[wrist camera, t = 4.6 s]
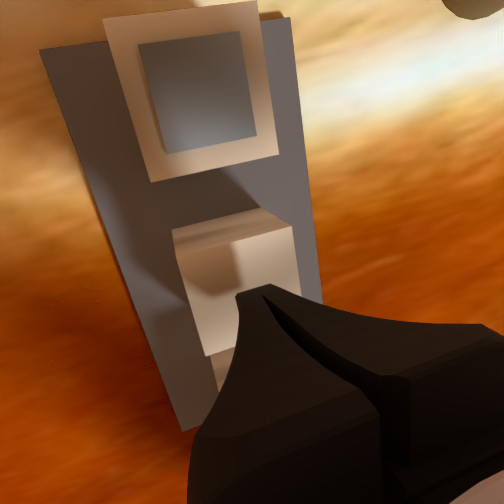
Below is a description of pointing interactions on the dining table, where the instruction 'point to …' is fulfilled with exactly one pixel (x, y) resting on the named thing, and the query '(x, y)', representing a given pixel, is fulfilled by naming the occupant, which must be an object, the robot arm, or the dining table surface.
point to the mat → (181, 201)
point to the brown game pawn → (474, 8)
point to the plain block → (232, 268)
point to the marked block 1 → (195, 86)
